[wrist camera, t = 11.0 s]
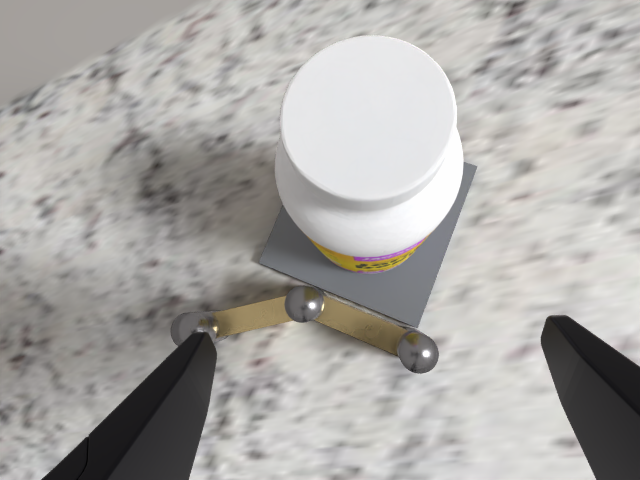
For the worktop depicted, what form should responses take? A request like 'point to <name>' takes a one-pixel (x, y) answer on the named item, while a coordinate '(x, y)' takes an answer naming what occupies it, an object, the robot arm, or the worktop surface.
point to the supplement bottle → (368, 151)
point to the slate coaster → (368, 289)
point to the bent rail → (315, 305)
